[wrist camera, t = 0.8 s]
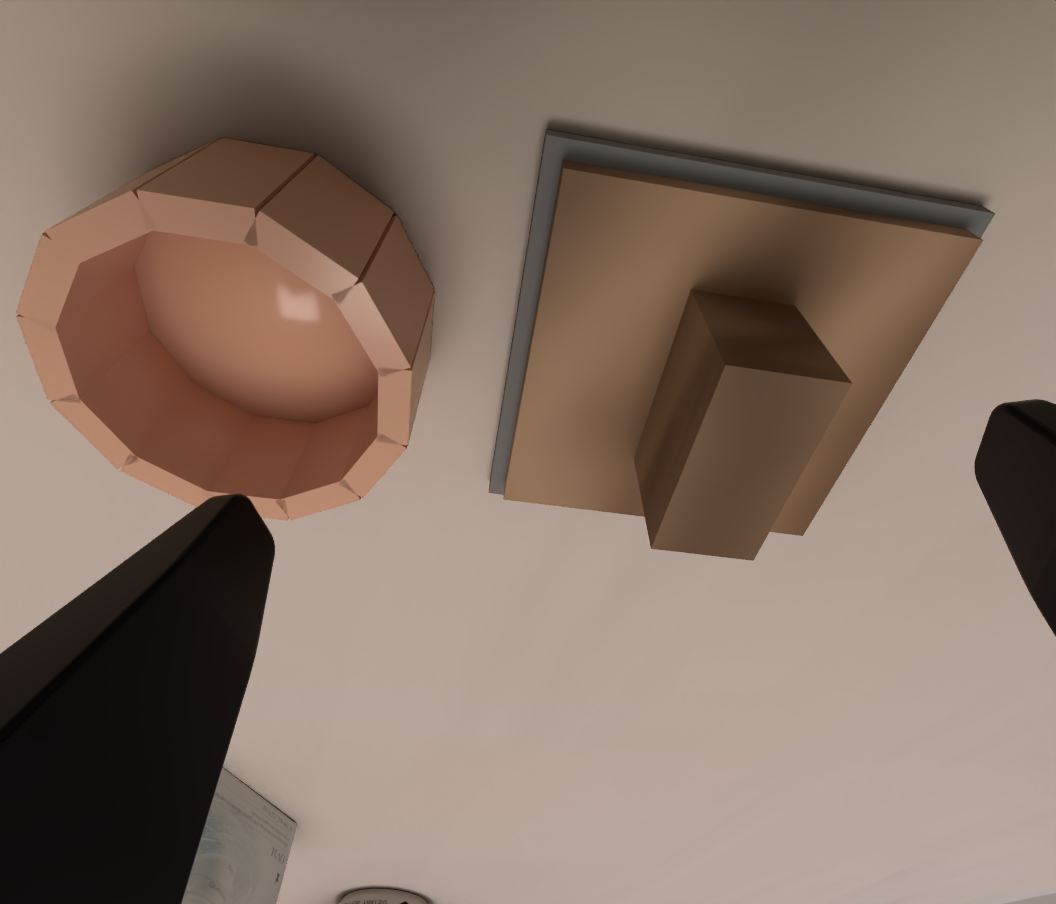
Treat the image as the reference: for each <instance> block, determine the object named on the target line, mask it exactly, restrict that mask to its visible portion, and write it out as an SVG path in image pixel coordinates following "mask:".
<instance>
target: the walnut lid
mask: <svg viewBox="0 0 1056 904" xmlns="http://www.w3.org/2000/svg"><path fill="white" fill-rule="evenodd" d="M982 241H983V240H982V239H981V238H979V237H978V236H976V235H974V234H973V233H971V232H970V231H968V230H967V229H961V228H955V227H950V226H944V225H938V224H932V223H926V222H921V221H915V220H909V219H903V218H897V217H892V216H886V215H880V214H874V213H868V212H863V211H857V210H851V209H845V208H839V207H834V206H828V205H822V204H816V203H810V202H805V201H799V200H793V199H787V198H781V197H776V196H770V195H764V194H758V193H752V192H746V191H741V190H735V189H729V188H723V187H717V186H712V185H706V184H700V183H694V182H688V181H683V180H677V179H671V178H665V177H659V176H654V175H648V174H642V173H636V172H630V171H625V170H619V169H613V168H607V167H601V166H596V165H590V164H584V163H578V162H572V161H567V160H562V166H561V171H560V177H559V182H558V188H557V193H556V199H555V205H554V210H553V216H552V221H551V227H550V232H549V238H548V244H547V249H546V255H545V260H544V266H543V271H542V277H541V283H540V288H539V294H538V299H537V305H536V310H535V316H534V322H533V327H532V333H531V338H530V344H529V349H528V355H527V361H526V366H525V372H524V377H523V383H522V388H521V394H520V400H519V405H518V411H517V416H516V422H515V427H514V433H513V439H512V444H511V450H510V455H509V461H508V466H507V472H506V478H505V483H504V498H503V499H505V500H513V501H521V502H529V503H538V504H546V505H554V506H562V507H570V508H579V509H587V510H595V511H603V512H612V513H620V514H628V515H636V516H644V517H645V520H646V525H647V530H648V535H649V540H650V545H651V549H659V550H668V551H676V552H685V553H694V554H702V555H711V556H719V557H728V558H736V559H745V560H754V558H755V557H756V555H757V553H758V551H759V549H760V548H761V546H762V544H763V542H764V541H765V539H766V537H767V535H768V533H769V532H776V533H784V534H792V535H801V536H803V535H804V533H805V531H806V530H807V528H808V526H809V525H810V523H811V521H812V520H813V518H814V517H815V515H816V513H817V512H818V510H819V508H820V507H821V505H822V503H823V502H824V500H825V498H826V497H827V495H828V494H829V492H830V490H831V489H832V487H833V485H834V484H835V482H836V480H837V479H838V477H839V476H840V474H841V472H842V471H843V469H844V467H845V466H846V464H847V462H848V461H849V459H850V458H851V456H852V454H853V453H854V451H855V449H856V448H857V446H858V444H859V443H860V441H861V439H862V438H863V436H864V435H865V433H866V431H867V430H868V428H869V426H870V425H871V423H872V421H873V420H874V418H875V417H876V415H877V413H878V412H879V410H880V408H881V407H882V405H883V403H884V402H885V400H886V399H887V397H888V395H889V394H890V392H891V390H892V389H893V387H894V385H895V384H896V382H897V380H898V379H899V377H900V376H901V374H902V372H903V371H904V369H905V367H906V366H907V364H908V362H909V361H910V359H911V358H912V356H913V354H914V353H915V351H916V349H917V348H918V346H919V344H920V343H921V341H922V340H923V338H924V336H925V335H926V333H927V331H928V330H929V328H930V326H931V325H932V323H933V321H934V320H935V318H936V317H937V315H938V313H939V312H940V310H941V308H942V307H943V305H944V303H945V302H946V300H947V299H948V297H949V295H950V294H951V292H952V290H953V289H954V287H955V285H956V284H957V282H958V281H959V279H960V277H961V276H962V274H963V272H964V271H965V269H966V267H967V266H968V264H969V262H970V261H971V259H972V258H973V256H974V254H975V253H976V251H977V249H978V248H979V246H980V244H981V243H982Z"/></svg>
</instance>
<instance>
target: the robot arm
mask: <svg viewBox="0 0 1056 904" xmlns="http://www.w3.org/2000/svg"><path fill="white" fill-rule="evenodd" d="M975 475H976V479H977V482H978V484H979V486H980V488H981V490H982V493H983V495H984V497H985V499H986V501H987V503H988V506H989V508H990V510H991V512H992V514H993V516H994V518H995V521H996V523H997V525H998V527H999V529H1000V531H1001V534H1002V536H1003V538H1004V540H1005V542H1006V544H1007V547H1008V549H1009V551H1010V553H1011V555H1012V557H1013V559H1014V562H1015V564H1016V566H1017V568H1018V570H1019V572H1020V575H1021V577H1022V579H1023V581H1024V582H1025V584H1026V586H1027V588H1028V590H1029V592H1030V594H1031V596H1032V598H1033V600H1034V601H1035V603H1036V605H1037V606H1038V608H1039V610H1040V612H1041V613H1042V615H1043V617H1044V618H1045V620H1046V621H1047V623H1048V625H1049V626H1050V628H1051V630H1052V631H1053V633H1054V635H1055V636H1056V404H1053V403H1051V402H1048V401H1045V400H1039V399H1034V400H1025V401H1017V402H1008V403H1003V404H1001V405H998V406H997V407H996V408H995V409H994V410H993V411H992V413H991V415H990V418H989V421H988V423H987V426H986V429H985V432H984V435H983V438H982V441H981V444H980V447H979V450H978V453H977V455H976V459H975ZM274 555H275V545H274V540H273V537H272V535H271V533H270V531H269V529H268V528H267V526H266V525H265V523H264V521H263V520H262V518H261V516H260V515H259V513H258V511H257V510H256V508H255V506H254V505H253V503H252V501H251V500H250V499H249V498H248V497H247V496H245V495H244V494H239V493H236V494H228V495H219V496H214V497H211V498H209V499H207V500H206V501H205V502H203V503H202V504H201V505H199V506H198V507H197V508H195V509H194V510H193V511H191V512H190V513H189V514H187V515H186V516H185V517H183V518H182V519H181V520H179V521H178V522H176V523H175V524H174V525H172V526H171V527H170V528H168V529H167V530H166V531H164V532H163V533H162V534H160V535H159V536H158V537H156V538H155V539H154V540H152V541H151V542H150V543H148V544H147V545H146V546H144V547H143V548H142V549H140V550H139V551H138V552H136V553H135V554H134V555H132V556H131V557H129V558H128V559H127V560H125V561H124V562H123V563H121V564H120V565H119V566H117V567H116V568H115V569H113V570H112V571H111V572H109V573H108V574H107V575H105V576H104V577H103V578H101V579H100V580H99V581H97V582H96V583H95V584H93V585H92V586H91V587H89V588H88V589H87V590H85V591H84V592H83V593H81V594H80V595H78V596H77V597H76V598H74V599H73V600H72V601H70V602H69V603H68V604H66V605H65V606H64V607H62V608H61V609H60V610H58V611H57V612H56V613H54V614H53V615H52V616H50V617H49V618H48V619H46V620H45V621H44V622H42V623H41V624H40V625H38V626H37V627H36V628H34V629H33V630H31V631H30V632H29V633H27V634H26V635H25V636H23V637H22V638H21V639H19V640H18V641H17V642H15V643H14V644H13V645H11V646H10V647H9V648H7V649H6V650H5V651H3V652H2V653H1V654H0V904H182V901H183V897H184V894H185V891H186V887H187V884H188V881H189V877H190V874H191V871H192V867H193V864H194V861H195V857H196V854H197V851H198V847H199V844H200V841H201V837H202V834H203V831H204V827H205V824H206V821H207V817H208V814H209V811H210V807H211V804H212V801H213V797H214V794H215V791H216V787H217V784H218V781H219V777H220V774H221V771H222V767H223V764H224V761H225V757H226V754H227V751H228V748H229V744H230V741H231V738H232V734H233V731H234V728H235V724H236V721H237V718H238V714H239V711H240V708H241V704H242V701H243V698H244V694H245V691H246V688H247V684H248V681H249V678H250V674H251V670H252V667H253V663H254V659H255V655H256V650H257V646H258V641H259V636H260V631H261V625H262V620H263V615H264V609H265V604H266V599H267V593H268V588H269V582H270V577H271V572H272V566H273V561H274Z"/></svg>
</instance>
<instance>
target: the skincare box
mask: <svg viewBox="0 0 1056 904" xmlns="http://www.w3.org/2000/svg"><path fill="white" fill-rule="evenodd" d="M296 826H297V824H296V823H295V822H293V821H292V820H291V819H290V818H288V817H287V816H286V815H284V814H283V813H282V812H280V811H279V810H278V809H276V808H275V807H274V806H272V805H271V804H270V803H269V802H267V801H266V800H265V799H263V798H262V797H261V796H259V795H258V794H257V793H255V792H254V791H253V790H251V789H250V788H249V787H248V786H246V785H245V784H244V783H242V782H241V781H240V780H238V779H237V778H236V777H234V776H233V775H232V774H231V773H229V772H228V771H227V770H225V769H224V768H223V767H222V771H221V774H220V777H219V781H218V784H217V787H216V791H215V794H214V797H213V801H212V804H211V807H210V811H209V814H208V817H207V821H206V824H205V827H204V831H203V834H202V837H201V841H200V844H199V847H198V851H197V854H196V857H195V861H194V864H193V867H192V871H191V874H190V877H189V881H188V884H187V887H186V891H185V894H184V897H183V901H182V904H276V902H277V898H278V894H279V891H280V887H281V883H282V880H283V876H284V872H285V868H286V864H287V861H288V857H289V853H290V849H291V845H292V841H293V838H294V834H295V830H296Z"/></svg>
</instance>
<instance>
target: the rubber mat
mask: <svg viewBox="0 0 1056 904" xmlns="http://www.w3.org/2000/svg"><path fill="white" fill-rule="evenodd" d="M562 160H567V161H572V162H578V163H584V164H590V165H596V166H601V167H607V168H613V169H619V170H625V171H630V172H636V173H642V174H648V175H654V176H659V177H665V178H671V179H677V180H683V181H688V182H694V183H700V184H706V185H712V186H717V187H723V188H729V189H735V190H741V191H746V192H752V193H758V194H764V195H770V196H776V197H781V198H787V199H793V200H799V201H805V202H810V203H816V204H822V205H828V206H834V207H839V208H845V209H851V210H857V211H863V212H868V213H874V214H880V215H886V216H892V217H897V218H903V219H909V220H915V221H921V222H926V223H932V224H938V225H944V226H950V227H955V228H961V229H967V230H968V231H970V232H971V233H973V234H974V235H976V236H978V237H979V238H981V236H982V234H983V233H984V231H985V230H986V228H987V226H988V225H989V223H990V221H991V220H992V218H993V216H994V215H995V213H993V212H991V211H990V210H988V209H986V208H984V207H983V206H977V205H971V204H966V203H960V202H954V201H949V200H943V199H937V198H932V197H926V196H920V195H915V194H909V193H903V192H898V191H892V190H886V189H881V188H875V187H869V186H864V185H858V184H852V183H847V182H841V181H835V180H830V179H824V178H818V177H813V176H807V175H801V174H796V173H790V172H784V171H779V170H773V169H767V168H762V167H756V166H750V165H745V164H739V163H733V162H728V161H722V160H716V159H711V158H705V157H699V156H694V155H688V154H682V153H676V152H671V151H665V150H659V149H654V148H648V147H642V146H637V145H631V144H625V143H620V142H614V141H608V140H603V139H597V138H591V137H586V136H580V135H574V134H569V133H563V132H557V131H552V130H546V133H545V139H544V146H543V152H542V158H541V164H540V171H539V177H538V183H537V189H536V196H535V202H534V208H533V214H532V221H531V227H530V233H529V239H528V246H527V252H526V258H525V264H524V271H523V277H522V283H521V289H520V296H519V302H518V308H517V314H516V321H515V327H514V333H513V339H512V346H511V352H510V358H509V364H508V371H507V377H506V383H505V389H504V396H503V402H502V408H501V414H500V421H499V427H498V433H497V439H496V446H495V452H494V458H493V464H492V471H491V477H490V484H489V493H495V494H503V495H504V483H505V478H506V472H507V466H508V461H509V455H510V450H511V444H512V439H513V433H514V427H515V422H516V416H517V411H518V405H519V400H520V394H521V388H522V383H523V377H524V372H525V366H526V361H527V355H528V349H529V344H530V338H531V333H532V327H533V322H534V316H535V310H536V305H537V299H538V294H539V288H540V283H541V277H542V271H543V266H544V260H545V255H546V249H547V244H548V238H549V232H550V227H551V221H552V216H553V210H554V205H555V199H556V193H557V188H558V182H559V177H560V171H561V166H562Z"/></svg>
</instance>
